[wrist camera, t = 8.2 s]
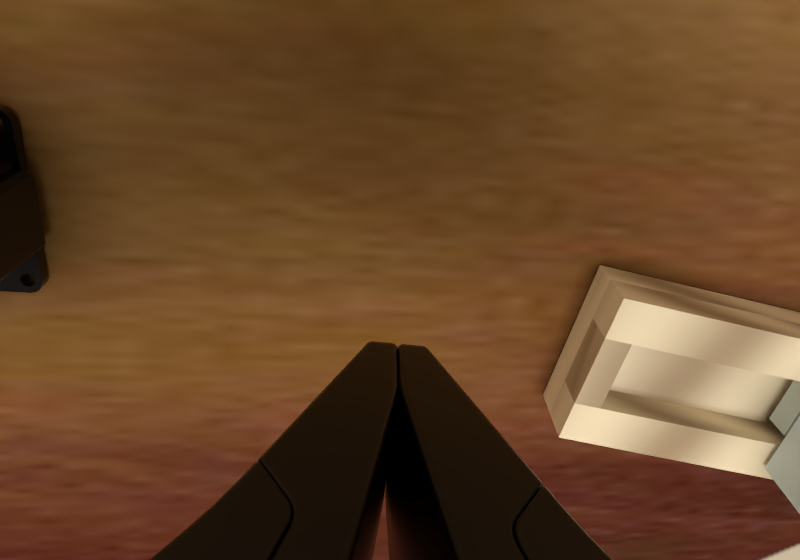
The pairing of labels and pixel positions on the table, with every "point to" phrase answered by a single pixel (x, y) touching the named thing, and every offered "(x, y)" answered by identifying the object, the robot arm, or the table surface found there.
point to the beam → (675, 372)
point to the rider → (788, 445)
